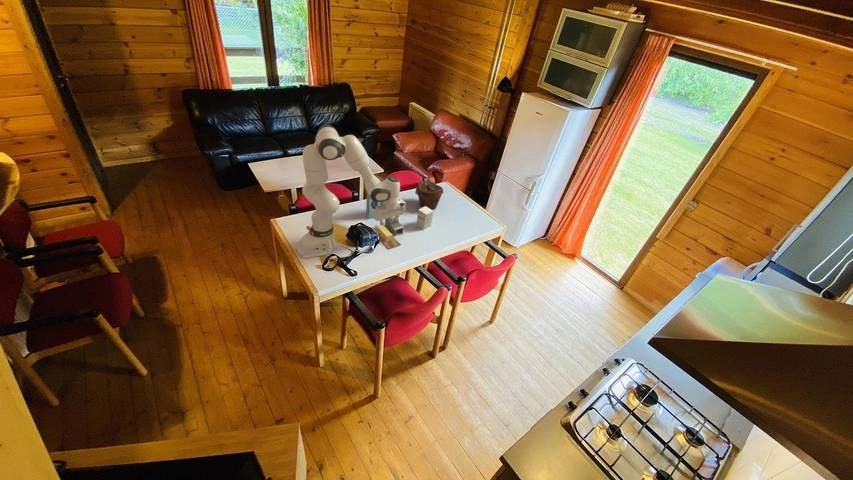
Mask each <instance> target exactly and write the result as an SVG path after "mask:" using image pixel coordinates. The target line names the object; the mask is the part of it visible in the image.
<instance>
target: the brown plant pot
mask: <svg viewBox="0 0 853 480" xmlns="http://www.w3.org/2000/svg"><path fill="white" fill-rule="evenodd" d="M414 193H415V195H417V197H418V205H419V207H420V209H421V208H423V207H425V206H426V207H428V208H429V209H431V210H433V211H434V210H436V209H437V206H438V204H439V202H440V199H441V197H442V195H443V194H444V188H443V187H442V186H440V185H437V183H434V182H433V181H429V180H422V181H420V182H418V184H417V185H416V189H415V192H414Z"/></svg>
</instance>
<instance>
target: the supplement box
mask: <svg viewBox="0 0 853 480" xmlns="http://www.w3.org/2000/svg"><path fill="white" fill-rule="evenodd" d="M433 215H434V210H431V209H429V208H428V207H426V206H425V207H423V208H421V207H420V208H419V209H418V211H417V216H416V217H417V218H416V224H415V225H416V226H417V227H420V228H421V229H422V230H426V229H427V228H430V227H432V221H433Z"/></svg>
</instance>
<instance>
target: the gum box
mask: <svg viewBox="0 0 853 480" xmlns="http://www.w3.org/2000/svg"><path fill="white" fill-rule="evenodd" d="M365 203H366V207H365V208H366V209H365V216H366V217H367V220H371V219H374V217H373V216H374V211H375V208H376V207H377V206H380V205H383V201H382V202H375V201H373V200H372V199H371V198H370V196H369V194H368V192H367V191H366V202H365Z"/></svg>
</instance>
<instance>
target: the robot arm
mask: <svg viewBox="0 0 853 480" xmlns="http://www.w3.org/2000/svg"><path fill="white" fill-rule="evenodd" d="M313 141H314V143H313V144H308V145H306V146H304V148H303V149H302V163H303V170H304V174H305V179H306V180H305V183H304V185H302V186H303V187H302V188H301V191H302V194H303V196H304V197H305V198H306V200H307V201H309V202H310V203H312V204H313V206H314V208H315V210H314V211H313V213H311V222H312V223H311V226H309V225H306V230H307V231H308V232H307V233H306V234H304V235H303V236H302V237H301V238H300V241H299V242H298V243H297V244H296V246H295V248H296V251H297V254H299V256H300V257H302V258H304V259H310V258H317V257H323V256H327V255H331V254H332V253H333V250H334V249H335V248H336V246H337V244H336V241H335V238H334V225H333V214H334V213H336V212H337V211H338V210H339V208H340V203H341V202H340V200H339V198H338V197H337V196H336V195H335V194H334V193H333V192H331V191H330V190H329V189H328V188H327V187H326V185H325V183H326V182H327V181H328V179H329V174H328V173H329V172H328V166H327V161H334V160H337V159H338V158H339V159H340V158H342V157H343V158H344V159H345V161H346V162H347V164H348V166H350V168H351V169H352V170H353V171H355V172H358V173H359V175H360V176H361V178H362V182H363V183H362V184H363V187H364V189H365V191H366V193H367V192H368V194H369V196H370V198H371V199H372V200H373V201H375V202H382V201H383V205H380V206H377V207H376V208H375V211H374V216H373V217H374V218H373V219H374V220H375V221H376V222H378V221H379V225H383V226H385V221H384V220H385V219H387V218H391V217H395V218H394V219H393V221H394V222H395V221H397V219H398V220H399V217H400V216H403V215H405V213H406V202H405V200H403V199H402V198H401V197H399V195H400V193H401V192H400V191H401V183H400V181H399V179H398V178H396V177H394V176H387V177H386V178H385V179H384V180H383V181H381V178H379V176H377V175H376V174H374V173H373V171H372V169H371V168H370V166H369V165H370V158H369V155H368V153H367V151H366V149H365V148H364V146H363V144H362V143H361V142H360V140H359V139H358V138H357V137H356V136H355V135H354V134H347V135H344V136H340V134H339V132H338V130H337V129H336V128H335V127H334V126H332V125H330V124H323V125H321V126H320V127H319V128H318V130H317V132H316V134H315V136H314V139H313Z"/></svg>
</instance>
